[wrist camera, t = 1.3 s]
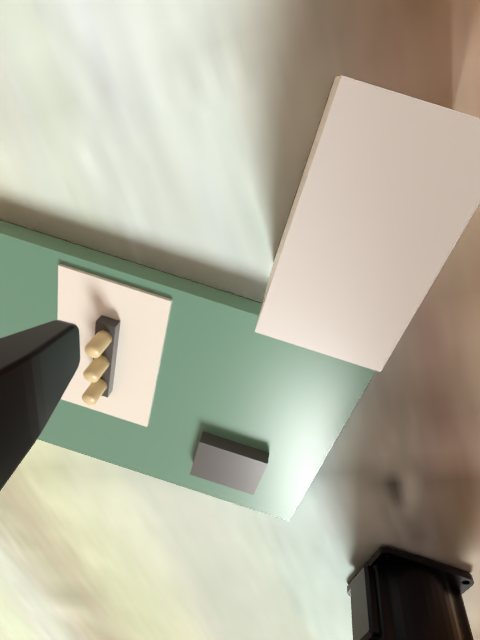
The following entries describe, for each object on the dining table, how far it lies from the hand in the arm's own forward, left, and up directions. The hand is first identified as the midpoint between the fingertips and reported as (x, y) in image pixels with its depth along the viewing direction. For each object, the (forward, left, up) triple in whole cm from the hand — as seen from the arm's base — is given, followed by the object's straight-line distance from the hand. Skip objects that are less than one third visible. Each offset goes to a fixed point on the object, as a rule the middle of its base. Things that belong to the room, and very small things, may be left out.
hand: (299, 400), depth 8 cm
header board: (+5, +12, -11) cm, 17 cm away
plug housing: (-1, -1, -11) cm, 12 cm away
